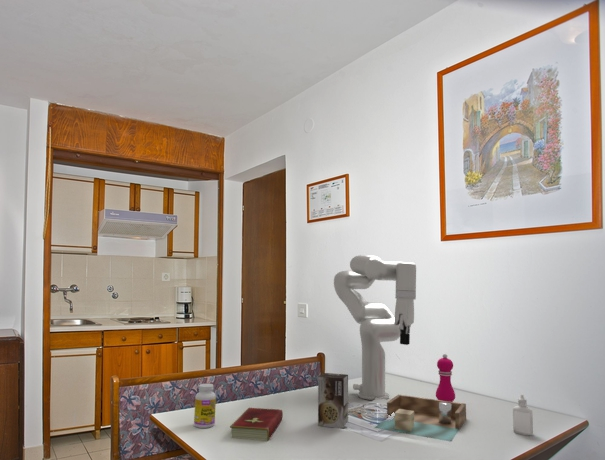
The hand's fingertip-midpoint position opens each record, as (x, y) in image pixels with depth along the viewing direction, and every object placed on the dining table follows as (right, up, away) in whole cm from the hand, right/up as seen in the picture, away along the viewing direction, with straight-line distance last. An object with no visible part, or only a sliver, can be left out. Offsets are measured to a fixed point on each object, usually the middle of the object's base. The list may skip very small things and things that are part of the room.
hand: (404, 344), depth 177 cm
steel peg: (+9, -22, -19) cm, 30 cm away
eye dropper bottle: (+32, -23, -26) cm, 47 cm away
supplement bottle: (-70, -21, -23) cm, 77 cm away
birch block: (-6, -21, -25) cm, 33 cm away
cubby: (+1, -22, -20) cm, 30 cm away
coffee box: (-28, -22, -20) cm, 41 cm away
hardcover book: (-53, -22, -26) cm, 63 cm away
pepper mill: (+16, -25, +3) cm, 30 cm away
